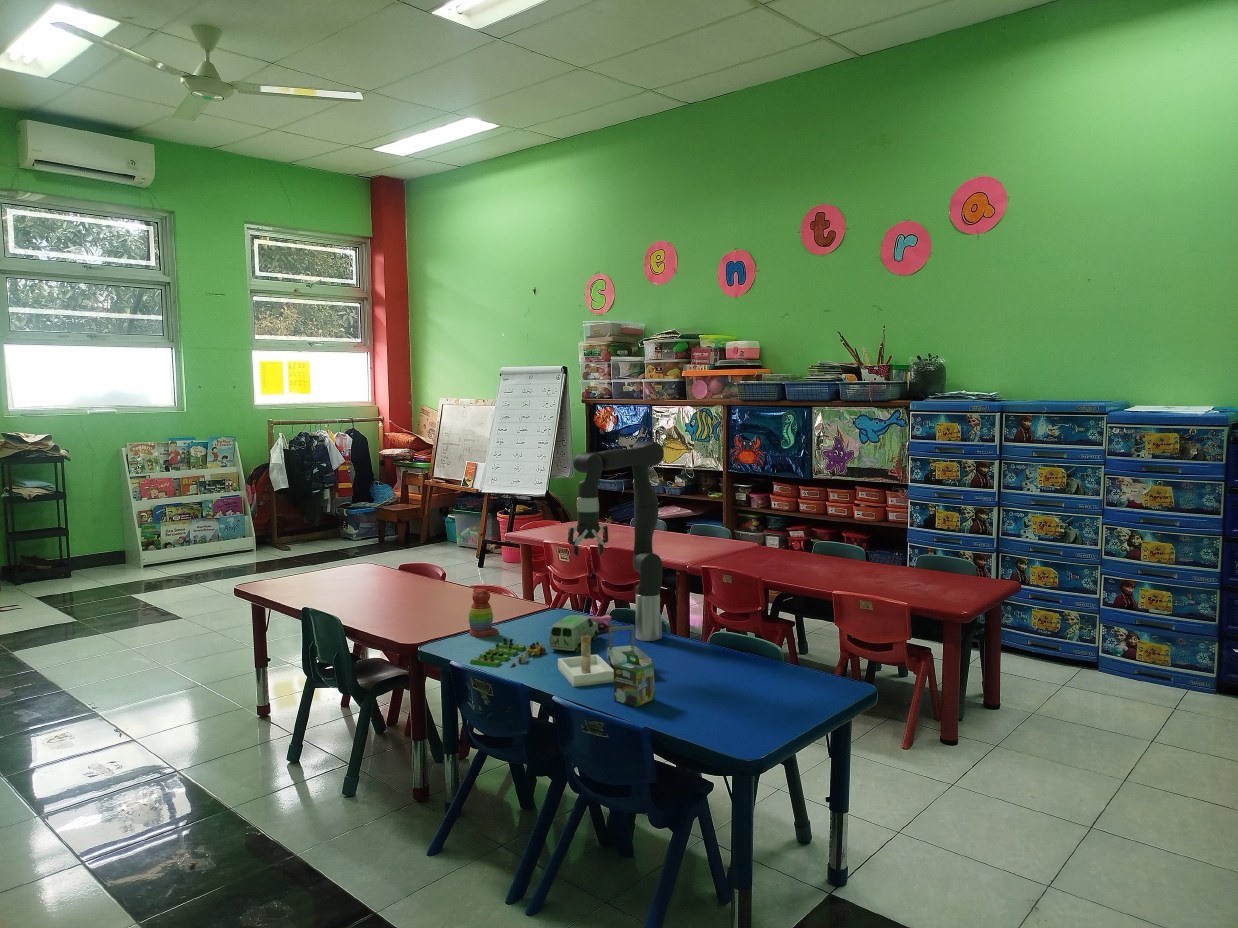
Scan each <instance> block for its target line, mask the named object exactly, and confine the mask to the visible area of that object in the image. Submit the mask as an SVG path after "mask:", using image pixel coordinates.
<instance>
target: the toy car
mask: <svg viewBox="0 0 1238 928" xmlns="http://www.w3.org/2000/svg"><path fill="white" fill-rule="evenodd" d="M579 615H580V614H579ZM579 615H577V614H576V615H575V614H573V615H572V614H571V615H567V616H566V617H564V618H562V619H560V620H559V621H557V622H555V623H554V624H552V626H551V627H550V631H549V637H548V641H549V642H548V643H549V644H548V648H549V649H553V650H559V651H570V652H571V651H573V652H574V653H578V652H579V651H580V652H581V636H584V635H589V636H591V641H592V640H593V641H594V640H597V638H598V635H597V633H599V631H598V624H597V623H596V622H592V620H591V618H590V617H591V616H585V615H582V616H579Z"/></svg>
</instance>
